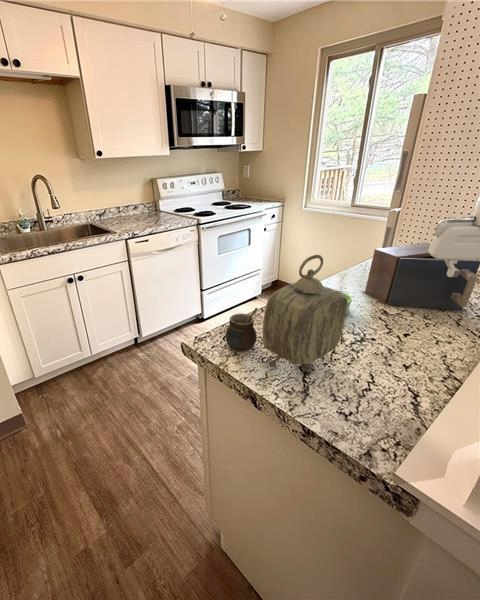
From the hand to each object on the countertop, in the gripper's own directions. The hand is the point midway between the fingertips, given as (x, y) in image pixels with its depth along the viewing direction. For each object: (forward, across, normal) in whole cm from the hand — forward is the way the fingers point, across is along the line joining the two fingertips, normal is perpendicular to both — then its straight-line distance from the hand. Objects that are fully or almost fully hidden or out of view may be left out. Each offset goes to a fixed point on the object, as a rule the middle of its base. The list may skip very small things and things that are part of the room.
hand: (478, 277), depth 71 cm
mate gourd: (+13, -50, -20) cm, 56 cm away
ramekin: (+13, -27, +3) cm, 30 cm away
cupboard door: (+13, -4, +6) cm, 15 cm away
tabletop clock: (+13, -38, -24) cm, 47 cm away
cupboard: (+13, -7, +17) cm, 23 cm away
